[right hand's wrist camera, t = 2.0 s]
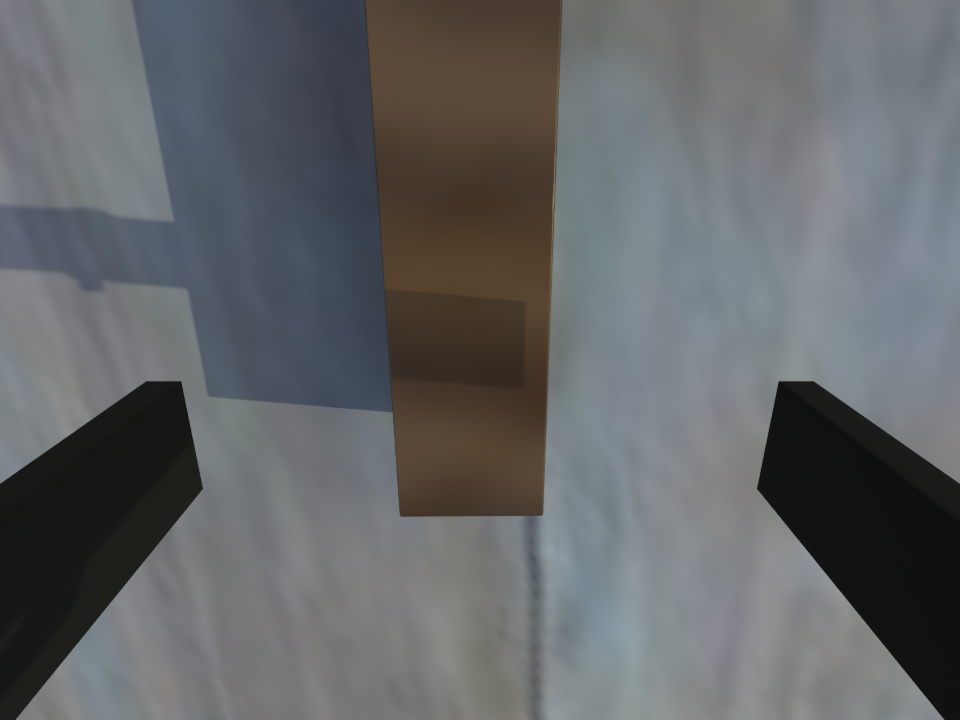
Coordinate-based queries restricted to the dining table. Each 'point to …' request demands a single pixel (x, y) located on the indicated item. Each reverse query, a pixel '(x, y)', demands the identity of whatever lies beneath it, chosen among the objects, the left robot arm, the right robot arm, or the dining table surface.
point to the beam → (467, 244)
